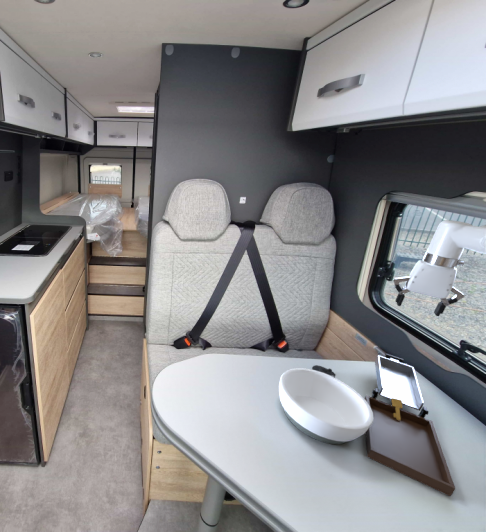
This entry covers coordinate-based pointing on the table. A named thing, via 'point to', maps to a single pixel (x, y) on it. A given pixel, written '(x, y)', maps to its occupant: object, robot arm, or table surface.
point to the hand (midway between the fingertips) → (416, 309)
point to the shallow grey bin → (398, 381)
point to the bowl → (323, 406)
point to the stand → (422, 413)
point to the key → (397, 407)
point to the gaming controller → (324, 370)
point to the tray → (407, 446)
